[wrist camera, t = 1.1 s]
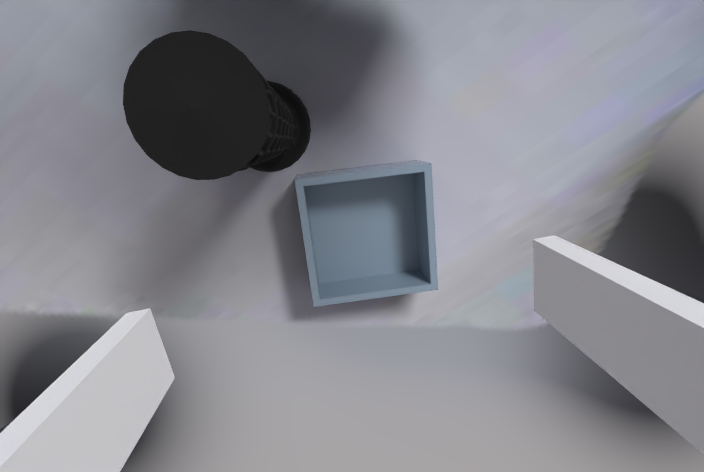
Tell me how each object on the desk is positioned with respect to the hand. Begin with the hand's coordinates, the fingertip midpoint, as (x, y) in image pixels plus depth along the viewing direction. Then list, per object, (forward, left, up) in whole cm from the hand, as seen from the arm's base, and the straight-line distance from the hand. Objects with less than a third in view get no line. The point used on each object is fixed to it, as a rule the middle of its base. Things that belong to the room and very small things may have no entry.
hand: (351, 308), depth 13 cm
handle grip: (-8, -6, -34) cm, 35 cm away
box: (+5, +4, -33) cm, 34 cm away
